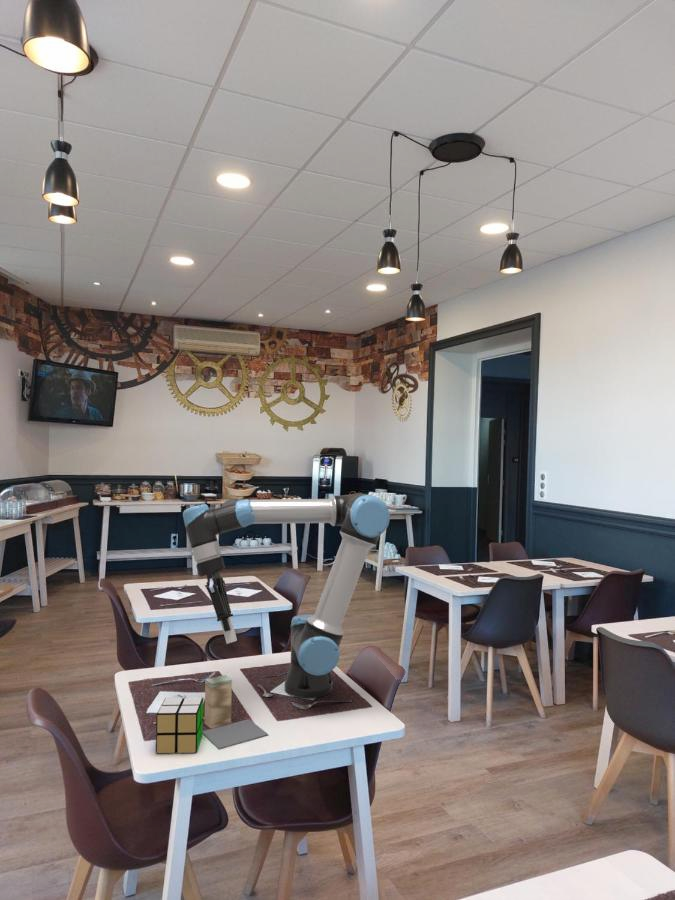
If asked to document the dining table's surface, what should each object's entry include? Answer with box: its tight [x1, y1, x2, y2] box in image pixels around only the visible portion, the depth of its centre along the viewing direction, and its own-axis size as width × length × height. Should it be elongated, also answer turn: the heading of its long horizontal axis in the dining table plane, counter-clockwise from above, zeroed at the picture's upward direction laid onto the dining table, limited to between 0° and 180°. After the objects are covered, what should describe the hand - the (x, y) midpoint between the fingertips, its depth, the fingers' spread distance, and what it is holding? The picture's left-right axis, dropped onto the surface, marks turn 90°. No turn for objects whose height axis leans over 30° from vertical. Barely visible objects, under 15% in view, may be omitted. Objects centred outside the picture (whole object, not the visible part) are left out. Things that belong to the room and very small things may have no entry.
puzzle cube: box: [155, 697, 204, 755], centre depth 154 cm, size 10×10×10 cm
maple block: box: [204, 674, 233, 729], centre depth 166 cm, size 6×4×12 cm, turn 125°
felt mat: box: [202, 718, 269, 750], centre depth 160 cm, size 14×11×1 cm
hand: (231, 641), depth 168 cm, fingers closed
